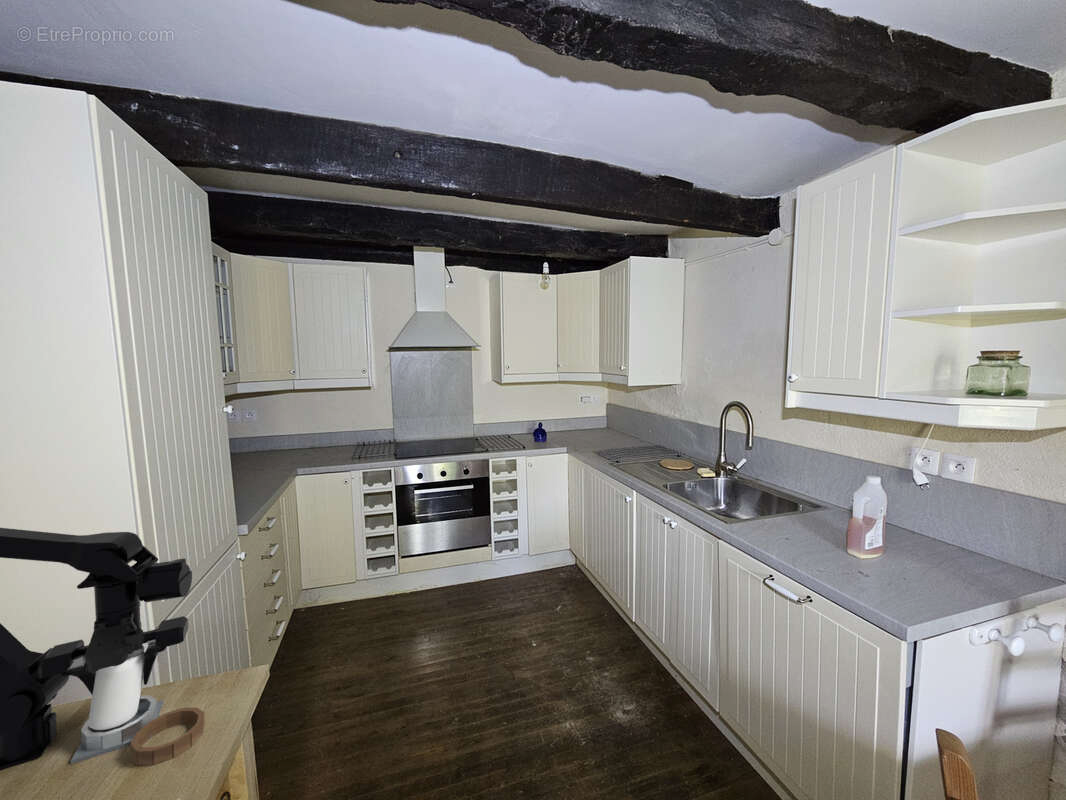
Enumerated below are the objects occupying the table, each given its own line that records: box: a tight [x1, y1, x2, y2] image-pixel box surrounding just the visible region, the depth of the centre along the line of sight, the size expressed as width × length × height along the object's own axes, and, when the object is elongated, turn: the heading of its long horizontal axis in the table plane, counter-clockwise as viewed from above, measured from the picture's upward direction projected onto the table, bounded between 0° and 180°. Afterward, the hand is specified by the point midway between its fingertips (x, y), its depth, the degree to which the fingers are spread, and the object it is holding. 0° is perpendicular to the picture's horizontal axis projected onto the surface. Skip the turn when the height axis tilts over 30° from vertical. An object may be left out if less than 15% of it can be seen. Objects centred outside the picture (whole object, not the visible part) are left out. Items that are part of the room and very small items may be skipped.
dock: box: [70, 695, 164, 765], centre depth 78 cm, size 10×10×3 cm
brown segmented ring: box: [130, 707, 205, 766], centre depth 75 cm, size 10×10×2 cm
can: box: [88, 645, 145, 731], centre depth 77 cm, size 6×6×12 cm
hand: (122, 690), depth 78 cm, fingers open, 6 cm apart
